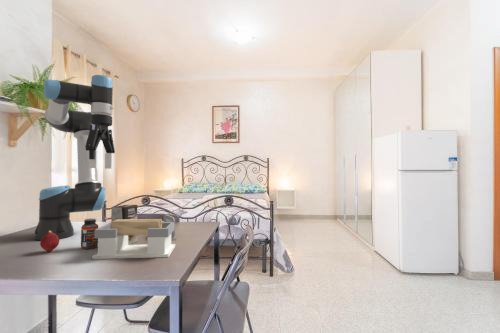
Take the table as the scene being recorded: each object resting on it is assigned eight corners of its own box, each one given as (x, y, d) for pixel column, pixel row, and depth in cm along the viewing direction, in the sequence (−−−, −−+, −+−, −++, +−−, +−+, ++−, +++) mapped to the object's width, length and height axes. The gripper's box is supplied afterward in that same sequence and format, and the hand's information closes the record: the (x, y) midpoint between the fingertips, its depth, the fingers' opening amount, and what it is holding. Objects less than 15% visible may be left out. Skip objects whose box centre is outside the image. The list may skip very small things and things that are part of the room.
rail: (116, 232, 105) (116, 219, 105) (161, 231, 107) (161, 218, 107) (111, 235, 100) (111, 221, 100) (158, 234, 102) (158, 221, 102)
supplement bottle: (85, 250, 105) (86, 221, 106) (77, 248, 108) (78, 219, 109) (101, 246, 110) (101, 218, 111) (93, 244, 114) (93, 217, 114)
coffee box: (124, 247, 110) (124, 207, 110) (110, 246, 111) (110, 206, 111) (137, 241, 119) (138, 204, 119) (124, 240, 120) (124, 204, 120)
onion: (62, 250, 105) (63, 229, 105) (47, 254, 100) (47, 233, 100) (52, 249, 107) (52, 228, 107) (36, 253, 102) (36, 231, 102)
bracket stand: (109, 247, 109) (109, 222, 109) (175, 246, 112) (175, 221, 112) (92, 259, 95) (92, 230, 95) (168, 257, 98) (168, 229, 98)
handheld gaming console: (146, 237, 127) (147, 215, 128) (166, 234, 133) (166, 213, 133) (155, 243, 117) (155, 219, 117) (176, 240, 122) (176, 217, 122)
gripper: (97, 108, 97) (96, 168, 96) (123, 121, 121) (122, 168, 121) (74, 107, 96) (73, 168, 96) (105, 120, 121) (105, 168, 120)
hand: (101, 168), depth 108 cm, fingers open, 13 cm apart
